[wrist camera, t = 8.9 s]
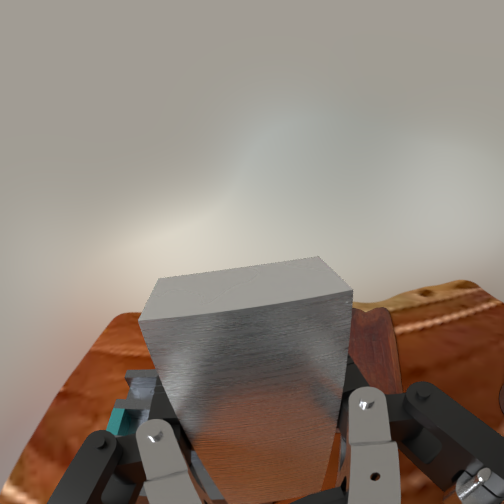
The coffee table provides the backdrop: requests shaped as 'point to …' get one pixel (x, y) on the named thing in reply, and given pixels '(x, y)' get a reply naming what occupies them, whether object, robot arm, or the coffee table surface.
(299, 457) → the panel
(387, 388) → the wooden tablet
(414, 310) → the coffee table surface
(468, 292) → the coffee table surface
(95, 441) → the robot arm
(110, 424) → the rack
